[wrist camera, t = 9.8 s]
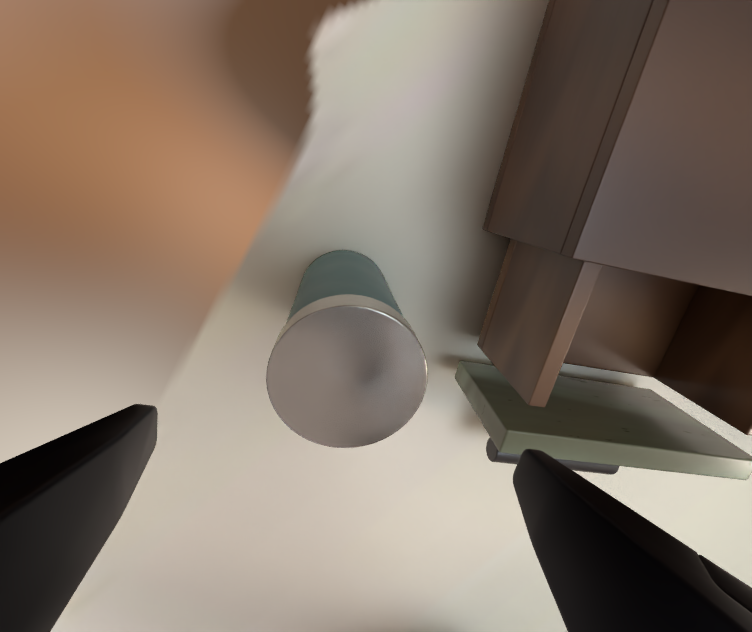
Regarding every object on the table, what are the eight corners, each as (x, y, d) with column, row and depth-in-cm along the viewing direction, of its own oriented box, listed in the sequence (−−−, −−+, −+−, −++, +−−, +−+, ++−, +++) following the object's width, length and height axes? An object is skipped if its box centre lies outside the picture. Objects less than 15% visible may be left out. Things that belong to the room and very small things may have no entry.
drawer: (618, 453, 26) (709, 540, 20) (437, 431, 24) (473, 521, 17) (757, 175, 20) (947, 173, 14) (534, 115, 18) (639, 80, 12)
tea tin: (403, 272, 21) (457, 345, 12) (364, 346, 22) (383, 467, 13) (321, 232, 20) (305, 277, 10) (284, 313, 21) (241, 418, 12)
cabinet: (701, 276, 23) (894, 325, 15) (481, 229, 20) (571, 258, 13) (853, -32, 18) (1256, -199, 10) (588, -138, 16) (841, -459, 8)
